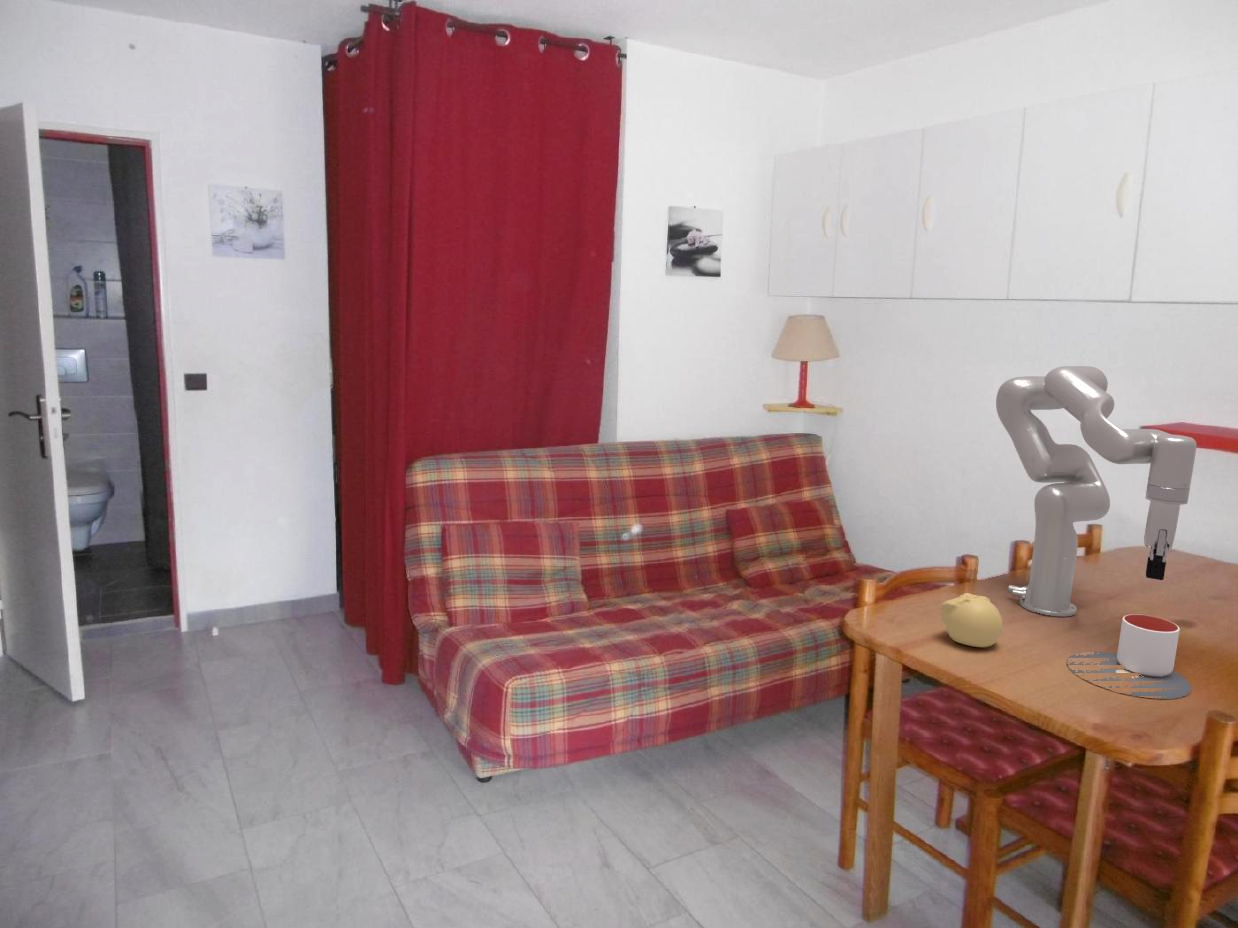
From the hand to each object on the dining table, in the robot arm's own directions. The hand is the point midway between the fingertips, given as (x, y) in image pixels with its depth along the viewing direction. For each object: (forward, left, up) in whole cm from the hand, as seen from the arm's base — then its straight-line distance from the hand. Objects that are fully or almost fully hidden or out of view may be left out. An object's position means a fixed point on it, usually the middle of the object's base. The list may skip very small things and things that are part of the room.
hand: (1154, 576), depth 181 cm
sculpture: (-33, -15, -17) cm, 40 cm away
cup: (0, -10, -17) cm, 20 cm away
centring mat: (-3, -15, -17) cm, 23 cm away
